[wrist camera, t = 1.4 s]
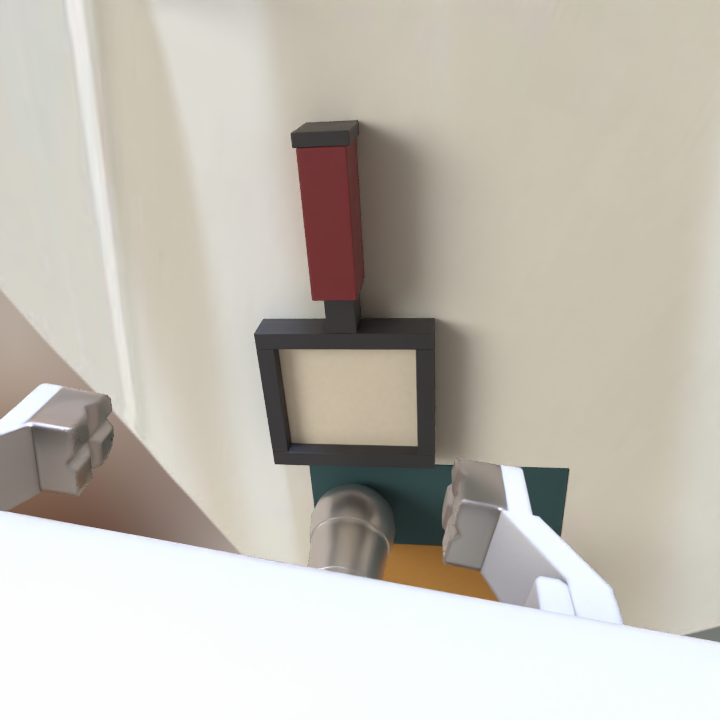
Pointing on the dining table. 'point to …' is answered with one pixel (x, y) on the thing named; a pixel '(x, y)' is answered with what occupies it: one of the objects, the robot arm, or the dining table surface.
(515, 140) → the dining table surface
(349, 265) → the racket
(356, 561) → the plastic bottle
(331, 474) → the mat
